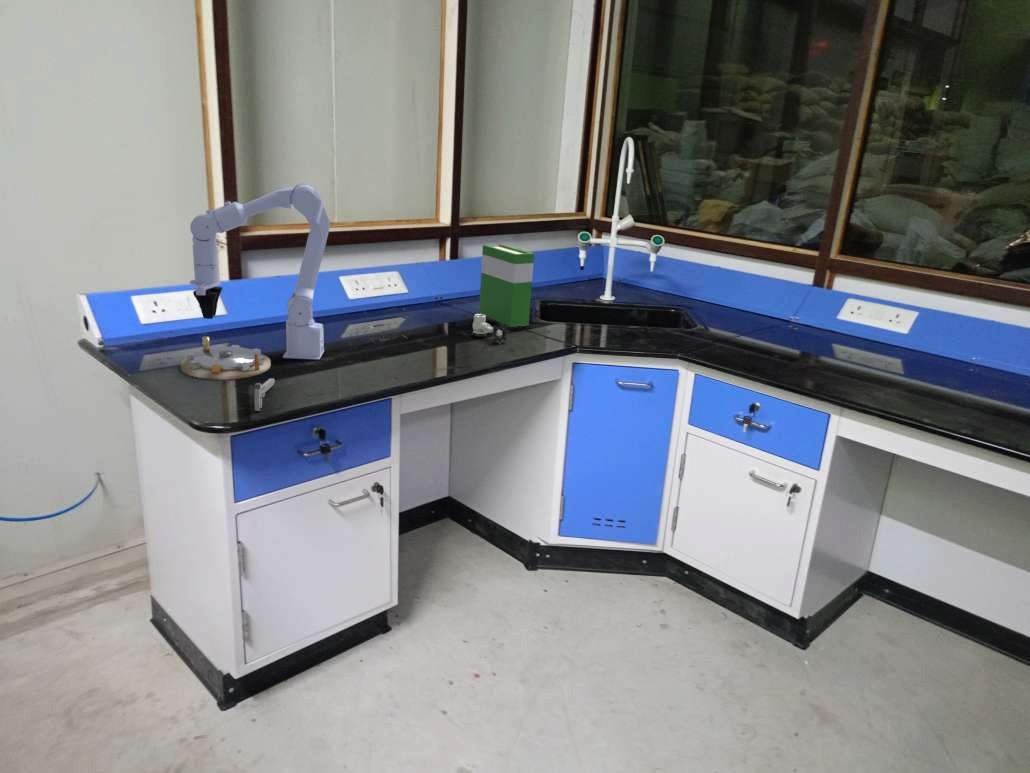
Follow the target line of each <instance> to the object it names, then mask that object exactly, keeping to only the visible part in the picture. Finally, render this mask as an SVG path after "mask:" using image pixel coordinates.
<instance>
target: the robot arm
mask: <svg viewBox="0 0 1030 773" xmlns="http://www.w3.org/2000/svg"><path fill="white" fill-rule="evenodd" d="M292 206H293V207H294V209H295V210H296V211H297V212H299V213H300V214H301V215H303V216H304V218H305V219H306V221H307V223H308V224H309V225H310V228H309V233H308V235H307V236H308V237H307V240H306V245H305V248H304V249H305V250H304V254H303V257H302V262H301V264H300V265H301V266H300V268H299V273H298V277H297V282H296V284H295V287H294V291H293V293H292V295H291V296H290V297H289V298H288V301H287V306H286V307H287V317H288V318H287V319H286V320H285V330H286V333H285V334H286V351H285V353H283V355H282V358H283V359H298V360H320V359H321V358H322V356H323V354H324V352H325V345H324V341H325V339H324V337H325V336H324V324H323V323H318V322H315V319H314V318H313V316H314V311H313V310H314V309H313V301H314V292H315V288H316V284H317V280H318V277H319V272H320V269H321V264H322V260H323V256H324V252H325V248H326V245H327V240H328V236H329V232H330V228H331V221H330V217H329V215H328V212H327V210H326V207H325V205H324V202H323V200H322V198H321V196H320V194H319V193H318V192H317V190H316V189H315V188H314V187H313V186H312V185H311V184H309V183H298V184H296V185H295V186H287V187H283V188H280V189H277V190H274V191H272V192H270V193H268V194H265V195H262V196H261V197H259V198H258V197H257V198H256V199H253V200H251V201H248V202H246V203H245V204H242V203H239V202H237V201H233V202H231V201H230V200H229V201H225V202H224V205H223V206H220V207H218V208H215V209H212V210H211V209H210V208H209V209H207V210H206V211H205V213H199V214H197V215H196V216H195V217H194V218H193V219H192V221H191V222H190V226H189V227H190V229H189V230H190V233H191V234H192V240H191V241H192V256H193V269H194V270H193V272H194V279H190V281H189V284H190V285H194V286H195V290H193V292H192V293H193V296H194V298H195V299H196V301H197V302H198V305H199V307H200V312H201V315H202V317H203V319H208V320H212V319H213V318H214V317H216V314H217V309H218V302H219V299H220V295H221V293H222V291H223V287H222V286H221V284H222V283H221V280H220V269H219V268H220V267H219V250H218V248H219V247H218V244H217V235H216V234H217V233H218V234H223V233H225V232H228V231H230V230H233V229H237V228H238V227H241V226H244V225H246V224H247V221H248V219H249V217H253V216H255V215H258V214H261V213H263V212H267V211H270V210H273V209H275V208H279V207H281V208H284V209H290V210H291V209H292Z"/></svg>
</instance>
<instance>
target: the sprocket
mask: <svg viewBox="0 0 1030 773" xmlns="http://www.w3.org/2000/svg"><path fill="white" fill-rule="evenodd" d="M201 337H202V339H201V341H202V350H199V351H197V352H188V353H187V354H186V356H187V357H186V358H187V361H189V367H190V368H192V369H196V368H203V369H207V370H212V373H220V372H221V371H228V370H238V369H240V370H242V371H246V370H250V367H251V366H253V365H255V357H254V354H259V364H263V363H264V362H265V357H264V356H261V354H262V350H261V349H259V348H256V347H255V348H252V349H251V348H247V347H242V346H240V345H239V344H232V345H230V346H218V347H213V346H210V345H211V344H210V336H208V335H206V336H201Z"/></svg>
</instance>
